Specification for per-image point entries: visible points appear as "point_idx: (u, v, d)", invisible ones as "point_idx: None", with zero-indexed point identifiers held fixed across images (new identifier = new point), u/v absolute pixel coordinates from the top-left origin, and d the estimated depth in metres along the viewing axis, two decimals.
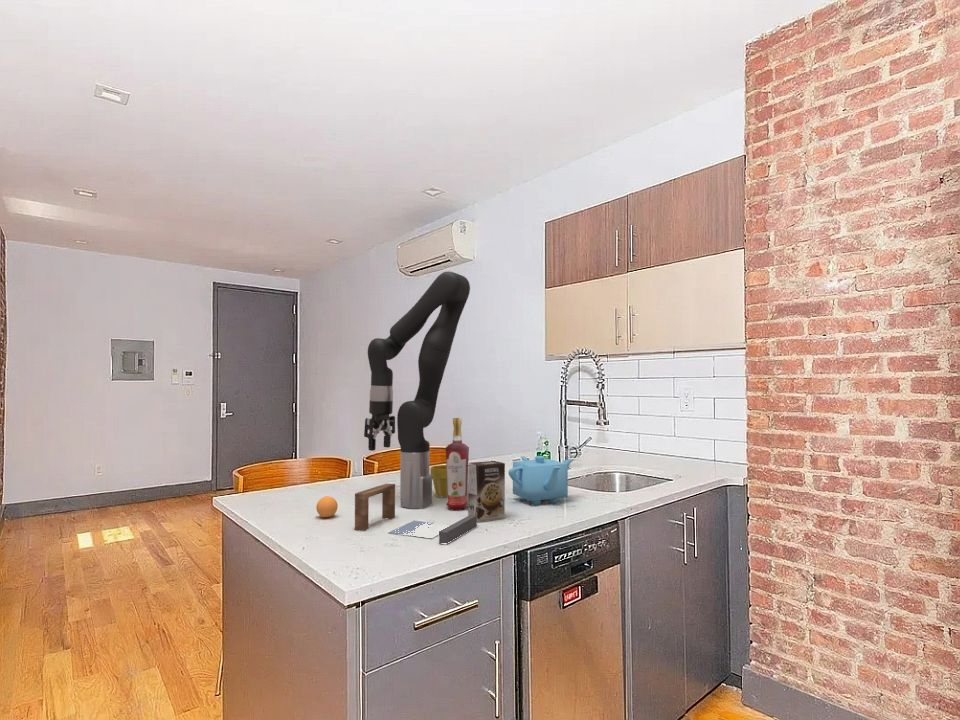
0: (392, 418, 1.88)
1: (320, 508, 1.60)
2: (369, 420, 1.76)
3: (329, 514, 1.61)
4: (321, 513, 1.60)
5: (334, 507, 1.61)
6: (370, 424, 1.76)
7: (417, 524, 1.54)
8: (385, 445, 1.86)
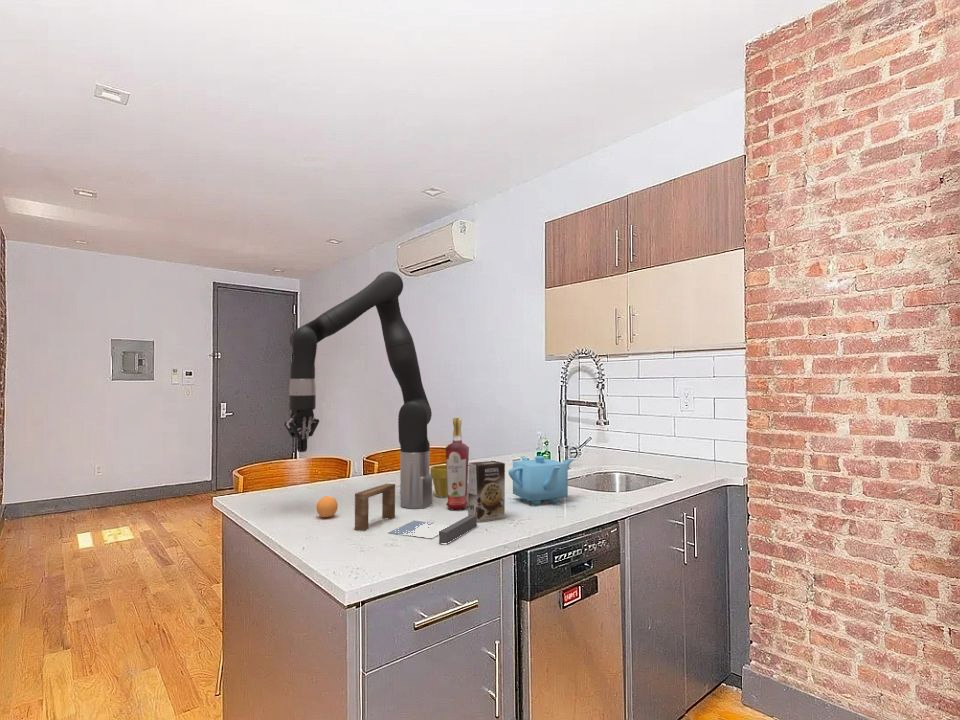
0: (316, 420, 1.71)
1: (320, 508, 1.60)
2: (288, 425, 1.62)
3: (329, 514, 1.61)
4: (321, 513, 1.60)
5: (334, 507, 1.61)
6: (292, 428, 1.62)
7: (417, 524, 1.54)
8: None
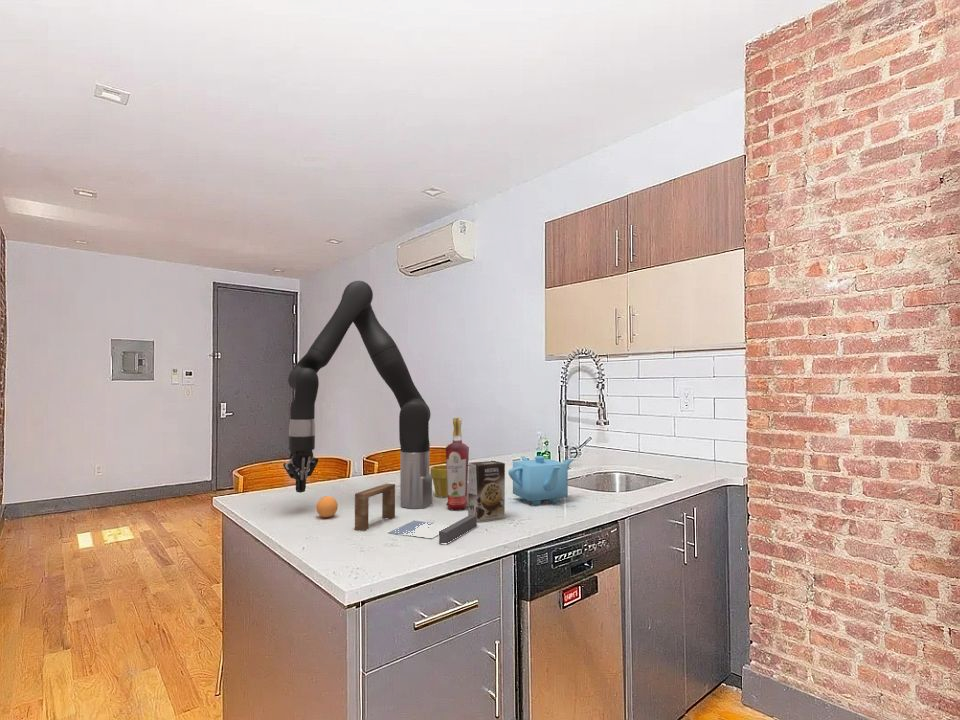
0: (315, 459, 1.72)
1: (320, 508, 1.60)
2: (287, 466, 1.62)
3: (329, 514, 1.61)
4: (321, 513, 1.60)
5: (334, 507, 1.61)
6: (290, 469, 1.62)
7: (417, 524, 1.54)
8: None
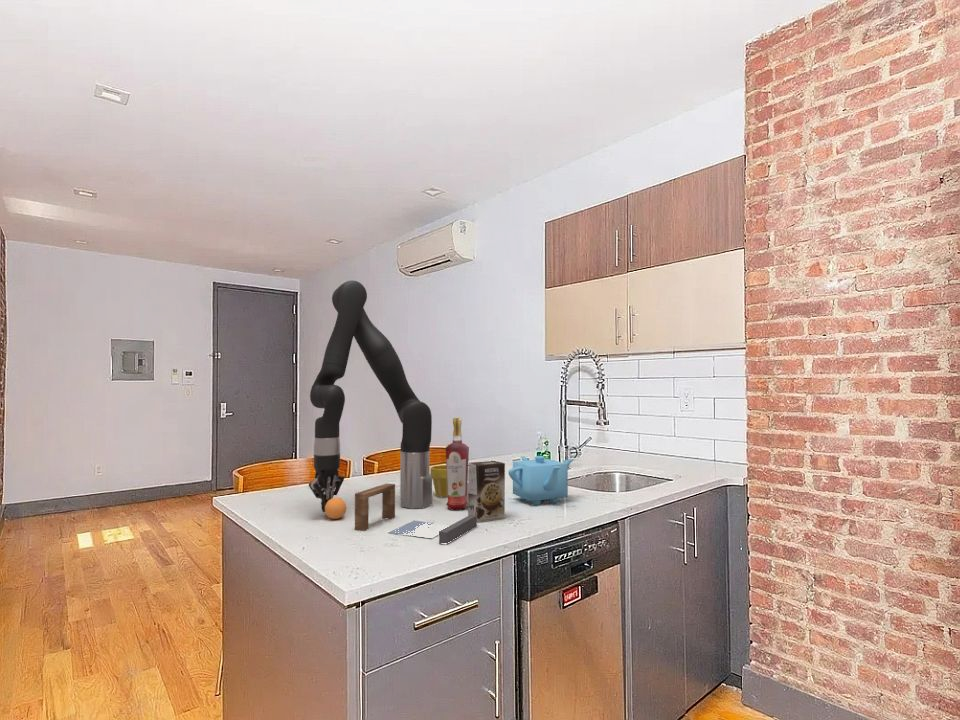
0: (340, 478, 1.68)
1: (328, 510, 1.58)
2: (313, 486, 1.58)
3: (333, 518, 1.60)
4: (327, 514, 1.59)
5: (341, 516, 1.60)
6: (316, 489, 1.59)
7: (417, 524, 1.54)
8: None
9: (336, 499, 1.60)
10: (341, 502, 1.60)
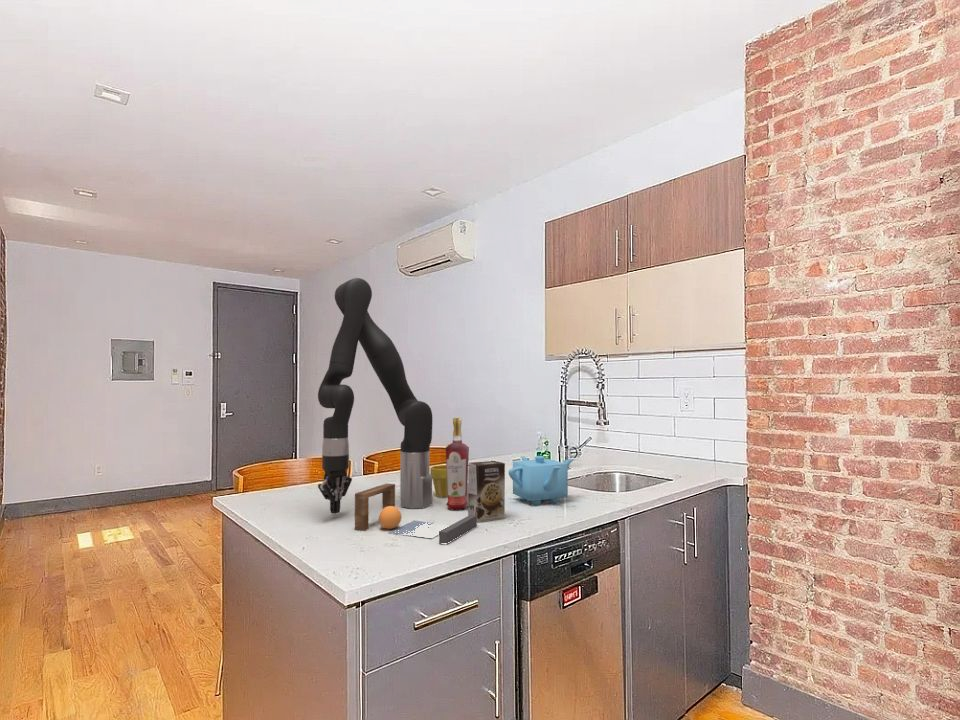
0: (348, 479, 1.66)
1: (383, 520, 1.48)
2: (322, 487, 1.56)
3: None
4: (380, 522, 1.49)
5: None
6: (325, 490, 1.57)
7: (417, 524, 1.54)
8: None
9: (394, 510, 1.49)
10: (398, 515, 1.49)
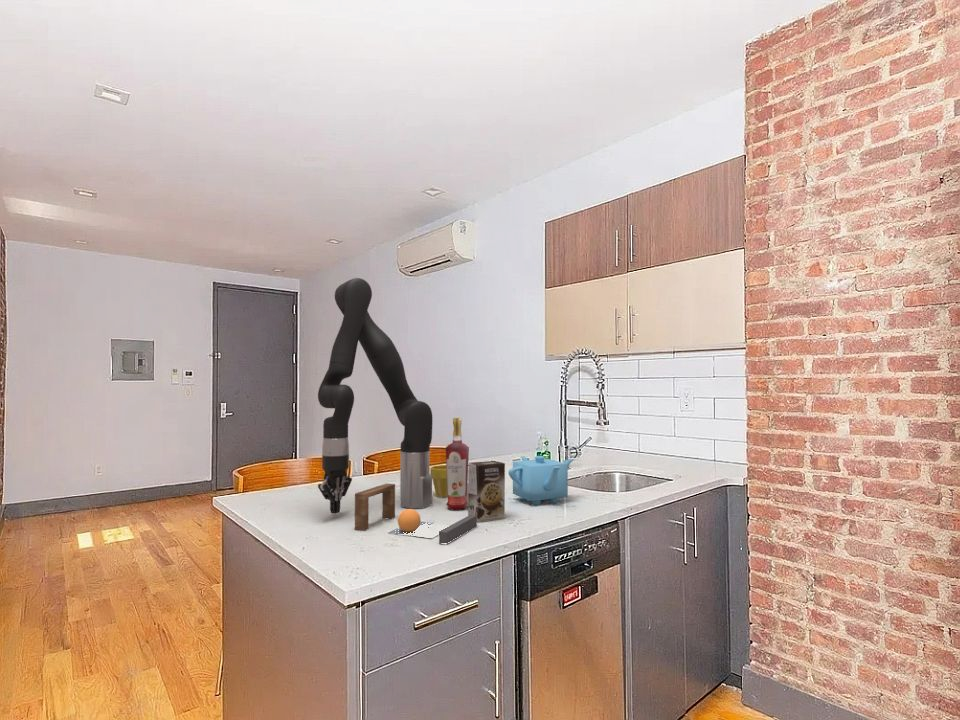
0: (348, 479, 1.66)
1: (401, 523, 1.45)
2: (322, 487, 1.56)
3: (401, 512, 1.48)
4: (402, 517, 1.45)
5: None
6: (325, 490, 1.57)
7: None
8: None
9: None
10: None
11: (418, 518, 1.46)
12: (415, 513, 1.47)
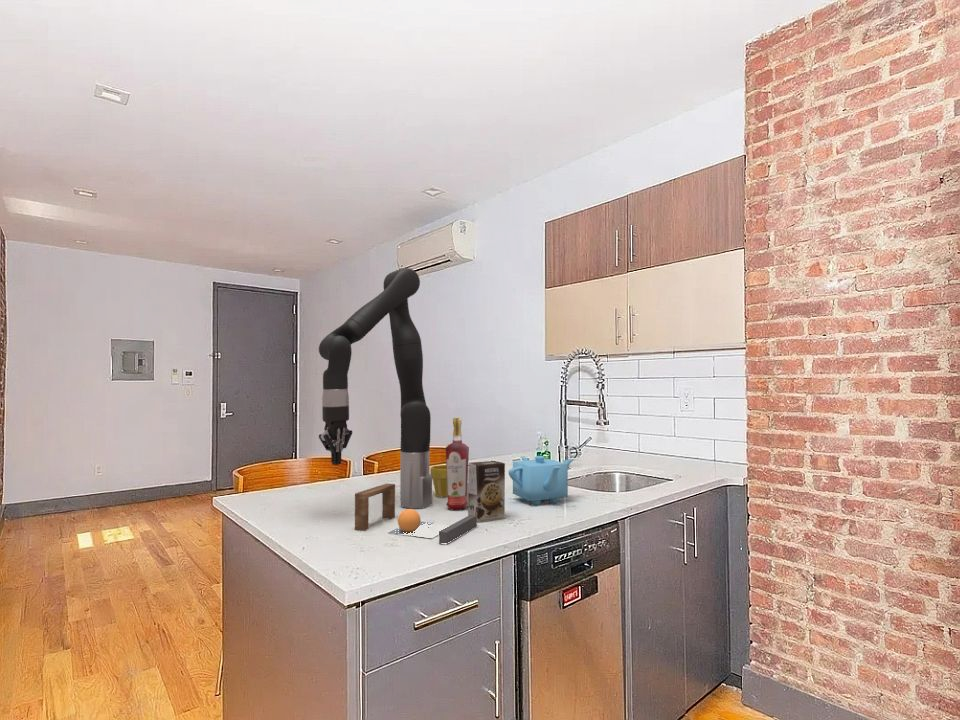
0: (349, 431, 1.66)
1: (401, 523, 1.45)
2: (323, 437, 1.56)
3: (401, 512, 1.48)
4: (402, 517, 1.45)
5: None
6: (326, 441, 1.57)
7: None
8: None
9: None
10: None
11: (418, 518, 1.46)
12: (415, 513, 1.47)
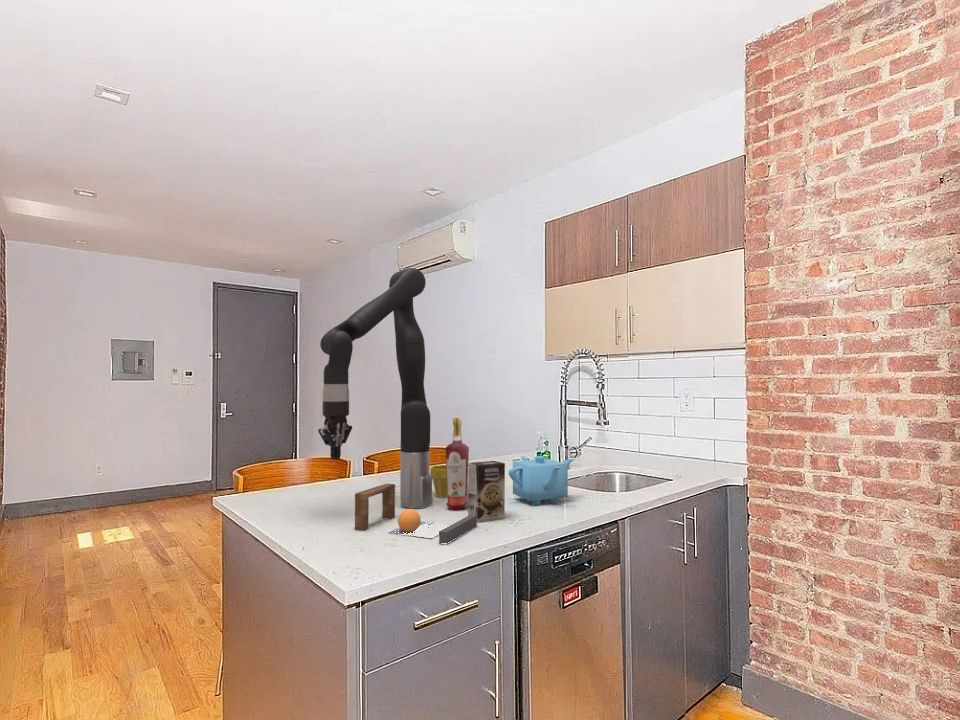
0: (349, 427, 1.66)
1: (401, 523, 1.45)
2: (323, 432, 1.56)
3: (401, 512, 1.48)
4: (402, 517, 1.45)
5: None
6: (326, 435, 1.57)
7: None
8: None
9: None
10: None
11: (418, 518, 1.46)
12: (415, 513, 1.47)
